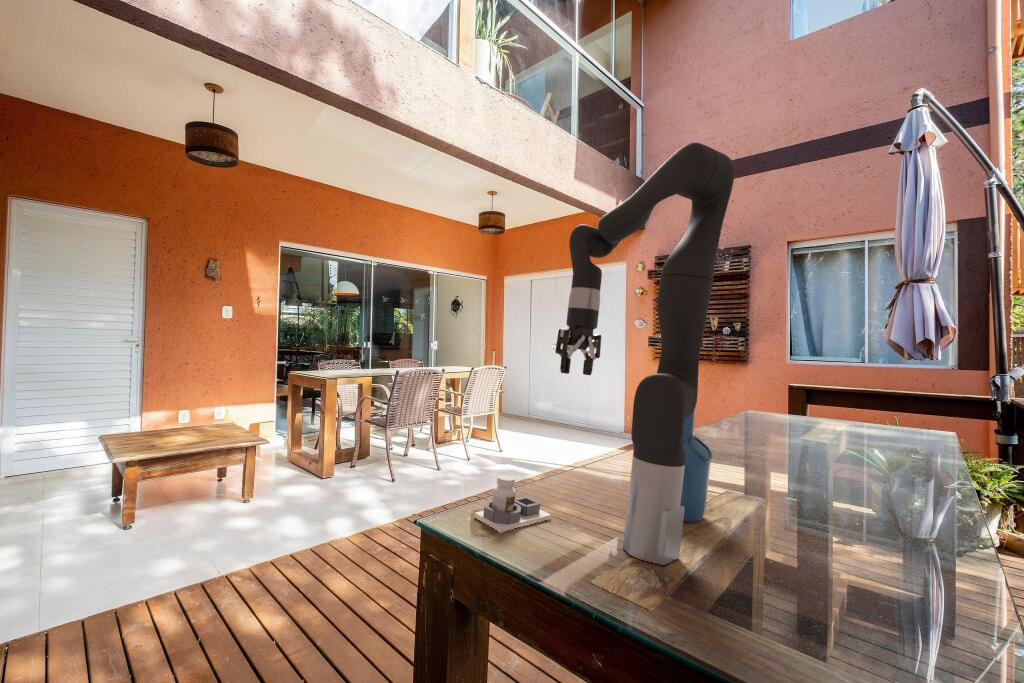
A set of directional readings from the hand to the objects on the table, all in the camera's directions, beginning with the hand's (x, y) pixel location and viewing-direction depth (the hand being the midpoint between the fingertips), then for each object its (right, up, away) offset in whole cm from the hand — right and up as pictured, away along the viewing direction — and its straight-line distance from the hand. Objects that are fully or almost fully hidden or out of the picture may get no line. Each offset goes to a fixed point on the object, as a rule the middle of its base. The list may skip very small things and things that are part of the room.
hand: (576, 374), depth 109 cm
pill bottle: (-18, -27, -20) cm, 38 cm away
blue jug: (+23, -33, -3) cm, 40 cm away
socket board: (-15, -28, -17) cm, 37 cm away
